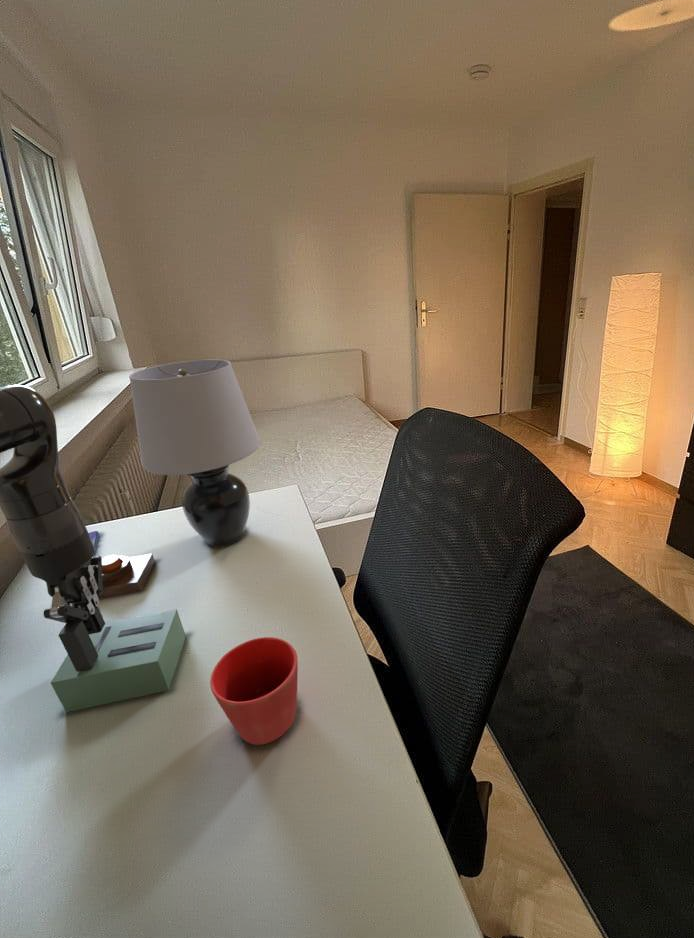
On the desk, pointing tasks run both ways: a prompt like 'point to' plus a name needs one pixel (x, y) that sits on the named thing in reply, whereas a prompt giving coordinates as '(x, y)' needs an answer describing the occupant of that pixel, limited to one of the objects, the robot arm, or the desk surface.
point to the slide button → (78, 645)
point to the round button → (110, 563)
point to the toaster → (124, 662)
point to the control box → (127, 575)
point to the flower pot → (258, 688)
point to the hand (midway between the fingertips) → (96, 629)
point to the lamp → (197, 440)
